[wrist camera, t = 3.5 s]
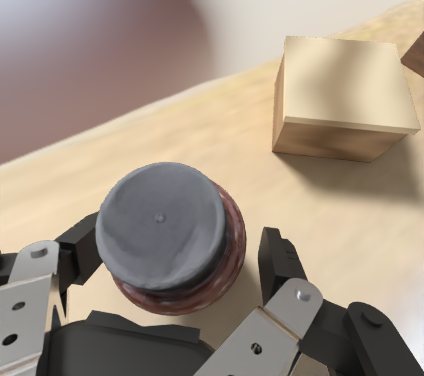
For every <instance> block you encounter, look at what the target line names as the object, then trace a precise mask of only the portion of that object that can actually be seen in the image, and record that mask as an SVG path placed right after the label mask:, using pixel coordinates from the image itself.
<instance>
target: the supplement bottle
mask: <svg viewBox="0 0 424 376" xmlns="http://www.w3.org/2000/svg"><path fill="white" fill-rule="evenodd" d="M95 227H96V244H97V247H98V252H99V255H100V257H101V259H102V260H103V262H104V264H105V266H106V267H107V269H108V270H109V271H110V272H111V275H112V277H113V280H114V282H115V284H116V285H117V287H118V288H119V289H120V291H121V292H122V293H123V294H124V295H125V296H126V297H127V298H128V299H129V300H130V301H131V302H132V303H133V304H135V305H136V306H138V307H140V308H142V309H144V310H146V311H149V312H151V313H155V314H159V315H167V316H178V315H185V314H189V313H193V312H196V311H199V310H201V309H203V308H205V307H207V306H209V305H211V304H213V303H214V302H216V301H217V300H218V299H219V298H221V297H222V296H223V295H224V294H225V293H226V292H227V291H228V289H229V288H230V287H231V286H232V284H233V283H234V281H235V280H236V278H237V276H238V274H239V272H240V270H241V268H242V265H243V262H244V258H245V253H246V231H245V224H244V221H243V218H242V215H241V212H240V210H239V208H238V206H237V204H236V203H235V201H234V200H233V199H232V197H231V196H230V195H229V194H228V193H227V192H226V191H225V190H224V189H223V188H222V187H220V186H219V185H218V184H216V183H215V182H213V181H212V180H210V179H209V178H207V177H206V176H205V175H204V174H202V173H201V172H200V171H198V170H196V169H195V168H192V167H190V166H187V165H184V164H180V163H174V162H159V163H153V164H150V165H146V166H144V167H141V168H138V169H136V170H134V171H132V172H131V173H129V174H127V175H126V176H125V177H124V178H122V179H121V180H119V181H118V182H117V184H116V185H115V186H114V187H113V188H112V189H111V191H110V192H109V194H108V195H107V197H106V198H105V200H104V202H103V203H102V204H101V207H100V211H99V214H98V217H97V221H96V226H95Z"/></svg>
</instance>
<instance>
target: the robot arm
mask: <svg viewBox="0 0 424 376" xmlns="http://www.w3.org/2000/svg"><path fill="white" fill-rule="evenodd" d="M99 211H100V210H99ZM99 211H98V212H96V213H93V214H91V215H88V216H86V217H85V218H84V219H82V220H81V221H80V222H78V223H77V224H75V225H74V227H71V228H70V229H69V230H67V231H66V232H64V233H63V234H62V235H60V236H59V237H58V238H56V239H55V240H54V241H50V240H47V241H40V242H36V243H33V244H30V245H28V246H26V247H25V248H23V249H22V250H21V251H20V252H19V253H8V254H1V251H0V376H291V375H292V373H293V371H294V369H295V367H296V365H297V363H298V361H299V359H300V357H301V356H302V354H305V355H307V356H309V357H311V358H313V359H315V360H317V361H319V362H321V363H323V364H325V365H327V367H328V371H329V374H330V376H424V371H423V370H422V368H421V367H420V365H419V363H418V362H417V360H416V359H415V357H414V356H413V354H412V353H411V351H410V350H409V348H408V346H407V345H406V343H405V342H404V340H403V339H402V337H401V336H400V334H399V332H398V331H397V329H396V328H395V326H394V325H393V323H392V322H391V321H390V319H389V318H388V317H387V316H386V315H385V314H383V313H382V312H381V311H379V310H378V309H376V308H375V307H373V306H371V305H369V304H366V303H362V302H352V303H351V304H350V305H349V306H348V308H347V309H346V308H344V307H341V306H339V305H336V304H334V303H331V302H329V301H327V300H325V299H323V296H322V294H321V292H320V291H319V290H318V288H317V287H316V286H314V285H313V284H312V283H310V282H308V280H307V277H306V275H305V272H304V270H303V267H302V265H301V262H300V260H299V257H298V254H297V252H296V249H295V247H294V245H293V244H292V243H291V242H290V241H289V240H288V239H282V238H281V235H280V232H279V229H278V228H270V227H264V228H263V232H262V236H261V241H260V246H259V251H258V266H259V274H260V282H261V290H262V298H263V307H264V308H261V307H260V306H257V307H256V308H255V309H254V310H253V311H252V312H251V313H250V314H249V315H248V316H247V317H246V318H245V320H244V321H243V322H242V323H241V324H240V325H239V326H238V327H237V328H236V329H235V331H234V332H233V333H232V334H231V335H230V336H229V337H228V338H227V339H226V340H225V341H224V343H223V344H222V345H221V346H220V347H219V348H218V349H217V350H215V349H213V348H212V347H211V346H210V345H208V344H207V343H205V342H204V341H202V340H200V339H199V335H200V329H197V328H191V327H185V326H180V325H174V324H171V325H158V326H146V327H143V326H140V325H138V324H136V323H134V322H132V321H130V320H128V319H126V318H124V317H122V316H120V315H117V314H112V313H106V312H100V311H94V310H92V312H91V313H90V315H89V316H88V317H87V319H86V320H80V321H75V322H72V323H68V322H69V289H68V287H69V286H70V285H71V284H76V285H82V286H83V285H84V283H85V282H86V281H87V280H88V279H89V278H90V277H91V275H92V274H93V273H94V272H95V271H96V270H97V268H98V267H99V266H100V265H101V264H102V263H103V260H102V259H101V257H100V255H99V252H98V247H97V244H96V227H95V226H96V221H97V217H98V214H99Z"/></svg>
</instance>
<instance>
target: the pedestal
mask: <svg viewBox="0 0 424 376" xmlns="http://www.w3.org/2000/svg"><path fill="white" fill-rule="evenodd" d="M419 130H421V127H420V124H419V121H418V117H417V114H416V111H415V107H414V104H413V101H412V97H411V94H410V90H409V87H408V84H407V80H406V77H405V74H404V70H403V67H402V64H401V60H400V57H399V53H398V50H397V47H396V43H384V42H369V41H355V40H340V39H325V38H311V37H295V36H286V39H285V43H284V55H283V58H282V62H281V65H280V68H279V72H278V75H277V79H276V82H275V93H274V117H273V141H272V152H280V153H289V154H298V155H307V156H316V157H325V158H334V159H343V160H352V161H361V162H370V163H371V162H372V161H373V160H375V159H376V158H377V157H378V156H380V155H381V154H382V153H384V152H385V151H386V150H388V149H389V148H390V147H392V146H393V145H394V144H395V143H397V142H398V141H399V140H401V139H402V138H403V137H405V136H406V135H407V134H412V135H414V134H415V133H417V132H418V131H419Z"/></svg>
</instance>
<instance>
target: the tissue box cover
mask: <svg viewBox="0 0 424 376" xmlns="http://www.w3.org/2000/svg"><path fill="white" fill-rule="evenodd" d="M400 60H401V63H402V64H403V65H405V66H406V67H408V68H409V69H411V70H413V71H414V72H416V73H417V74H419V75H420V76H422V77H423V78H424V32H423V33H422V34H421V35H420V37H419V38H418V39H417V40H416V41H415V43H414V44H413V45H412V46H411V47H410V49H409V50H408V51H407V52H406V53H405V55H404V56H403V57H402V58H401V59H400Z"/></svg>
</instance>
